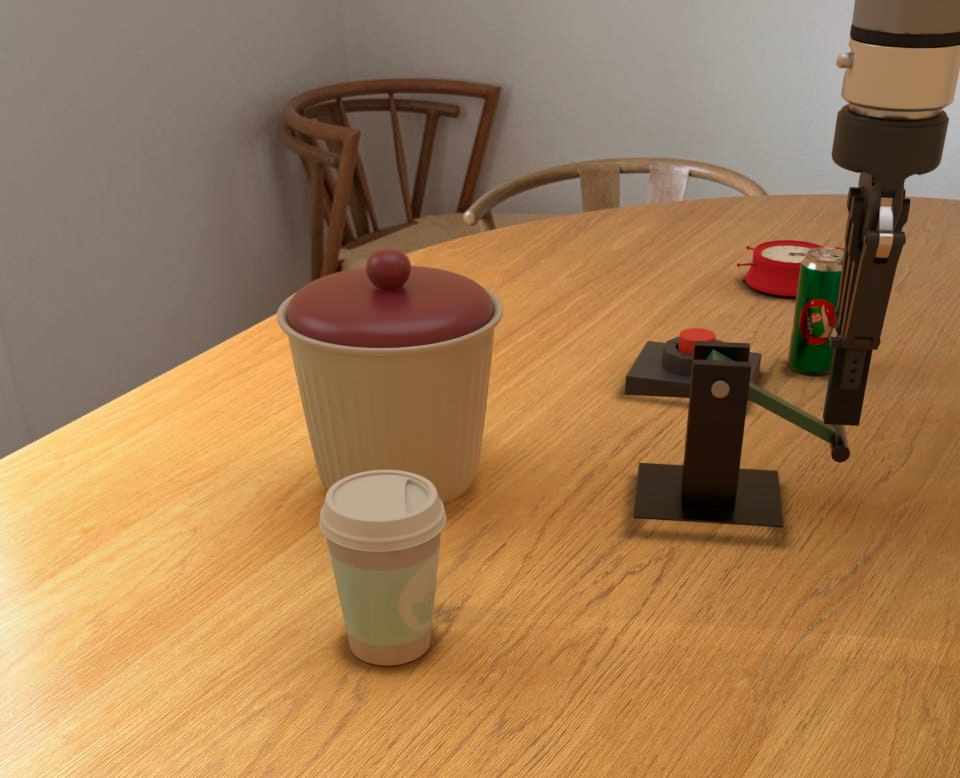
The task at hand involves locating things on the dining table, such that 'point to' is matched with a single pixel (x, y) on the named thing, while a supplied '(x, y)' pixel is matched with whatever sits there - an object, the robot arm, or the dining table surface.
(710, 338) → the button
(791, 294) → the alarm clock
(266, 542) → the dining table surface
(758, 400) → the lever
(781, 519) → the bracket
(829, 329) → the soda can
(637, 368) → the button box
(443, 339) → the canister
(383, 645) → the coffee cup
